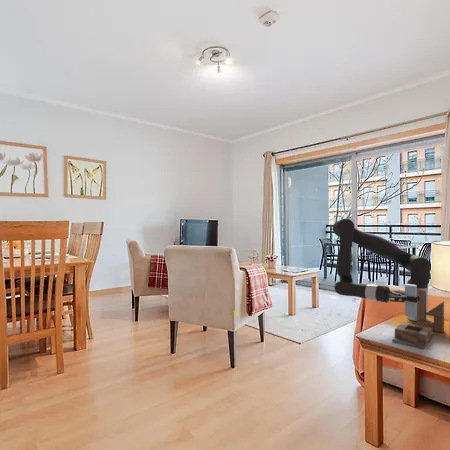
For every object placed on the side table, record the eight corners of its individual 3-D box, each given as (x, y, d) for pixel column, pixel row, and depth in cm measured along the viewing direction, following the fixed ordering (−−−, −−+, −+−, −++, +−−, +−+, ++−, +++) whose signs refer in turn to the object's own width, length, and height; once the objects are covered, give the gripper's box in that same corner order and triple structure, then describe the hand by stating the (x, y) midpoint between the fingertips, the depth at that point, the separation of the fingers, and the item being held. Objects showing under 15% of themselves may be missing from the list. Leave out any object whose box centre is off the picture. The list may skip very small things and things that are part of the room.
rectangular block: (406, 314, 145) (406, 283, 145) (416, 315, 142) (416, 285, 142) (404, 315, 143) (404, 284, 142) (415, 317, 140) (415, 286, 140)
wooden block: (442, 333, 147) (442, 294, 147) (416, 327, 155) (416, 291, 154) (444, 330, 150) (444, 293, 149) (418, 325, 158) (418, 289, 157)
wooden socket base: (405, 328, 154) (405, 319, 153) (434, 335, 145) (434, 325, 145) (392, 341, 139) (392, 331, 139) (423, 349, 131) (423, 338, 131)
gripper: (371, 288, 147) (414, 294, 135) (382, 282, 157) (422, 288, 145) (372, 304, 147) (414, 311, 135) (382, 297, 157) (422, 304, 145)
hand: (418, 299), depth 140 cm, fingers closed on rectangular block, 3 cm apart
